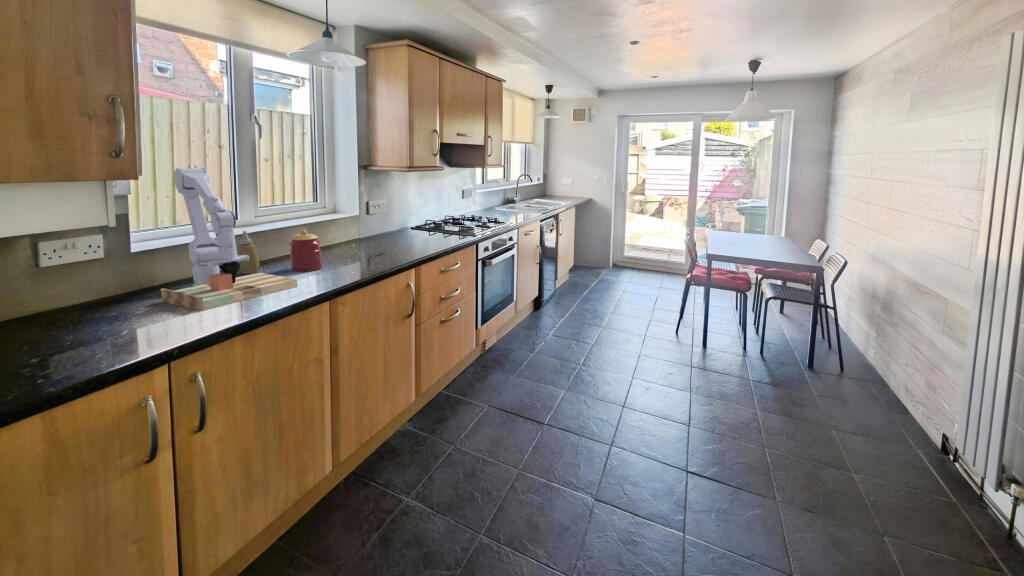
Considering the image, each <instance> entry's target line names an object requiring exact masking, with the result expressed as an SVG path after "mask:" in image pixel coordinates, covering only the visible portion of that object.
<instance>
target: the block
mask: <svg viewBox="0 0 1024 576" xmlns="http://www.w3.org/2000/svg"><path fill="white" fill-rule="evenodd" d="M209 281H210V287H211V290H216V291H223V290H227V289H231V288H233V282H232V275H231V274H227V273H223V272H220V273H219V274H214V275H209Z"/></svg>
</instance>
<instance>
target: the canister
mask: <svg viewBox="0 0 1024 576" xmlns="http://www.w3.org/2000/svg"><path fill="white" fill-rule="evenodd" d="M318 238H319V236H318V235H315V234H314V233H308V232H307V230H306V229H301V230H300V233H298V234H294V235H292V236H291V237H290V238H289V239H290V242H288V245H289V247H290V250H289V254H290V256H289V257H290V268H291V270H292V271H293V272H300V273H301V272H302V271H305V272H313V271H314V270H315V271H318V270H321V269H323V261H322V260H323V259H322V252H321V251H322V249H321V248H320V244H321V241H319V240H318ZM302 273H303V272H302Z"/></svg>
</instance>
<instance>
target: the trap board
mask: <svg viewBox="0 0 1024 576" xmlns="http://www.w3.org/2000/svg"><path fill="white" fill-rule="evenodd" d="M298 286H299V285H298V279H297V278H293V277H288V276H287V277H286V276H281V275H276V274H269V273H264V272H257V273H254V274H245V275H243V276H238V277H237V276H236V280H235V283H233V288H231V289H227V290H223V291H216V290H211V287H210V283H208V284H203V285H198V286H194V287H193V286H190V287H185V288H181V289H175V290H172V289H168V288H160V295H161V300H162V303H165V304H166V303H167V304H171V305H175V306H178V307H182V306H183V307H184V308H187V309H191V310H195V311H199V312H202V311H206V310H211V309H215V308H219V307H223V306H226V305H231V304H234V303H238V302H242V301H246V300H250V299H254V298H258V297H262V296H266V295H271V294H274V293H278V292H281V291H286V290H290V289H293V288H298Z"/></svg>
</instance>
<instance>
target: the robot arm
mask: <svg viewBox="0 0 1024 576" xmlns="http://www.w3.org/2000/svg"><path fill="white" fill-rule="evenodd" d="M173 181H174V184H175V187H176V190H177V193H179V194H180V195H182V196H183V199H184V202H185V206H186V210H187V214H188V218H189V221H190V225H191V229H192V232H193V233H192V234H193V235H194V239H193V240H192V241H190V243H189V244H188V247H187V249H188V256H189V257H188V258H189V259H190V262H191V263H192V264H193V266H192V270H191V271H192V276H193V284H192V285H191V287H193V286H198V285H203V284H208V283H210V281H209V275H214V274H219V273H221V271H222V273H227V274H231V275H232V282H233V283H235V280H236V278H237V275H238V271H239V270H240V268H239V267H240V263H238V262H240V261H245V260H246V261H248V260H249V255H239V256H238V249H237V245H236V244H237V243H236V237H235V236H236V235H235V230H234V229H235V227H236V226H237V219H236V215H235V214H234V211H233V210H230V209H229V208H226V206H225V204H224V203H223V201H222V199H221V198H220V197H218V195H217V196H215V194H214V193H213V190H212V188H211V186H210V175H209V172H208V170H207V169H205V167H202V168H179V167H178V168H175V170H173ZM200 197H201V198H200ZM201 199H202V200H203V201H201ZM201 202H202V203H201ZM202 205H203V206H204V209H205V211H206V212H207V213H208V215H209V216H210V224H211V227H212V231H213V233H214V234H215V238H213V237H211V236H210V233H209V228H208V225H207V222H206V217H205V213H204V209H203V206H202ZM220 270H221V271H220Z"/></svg>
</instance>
